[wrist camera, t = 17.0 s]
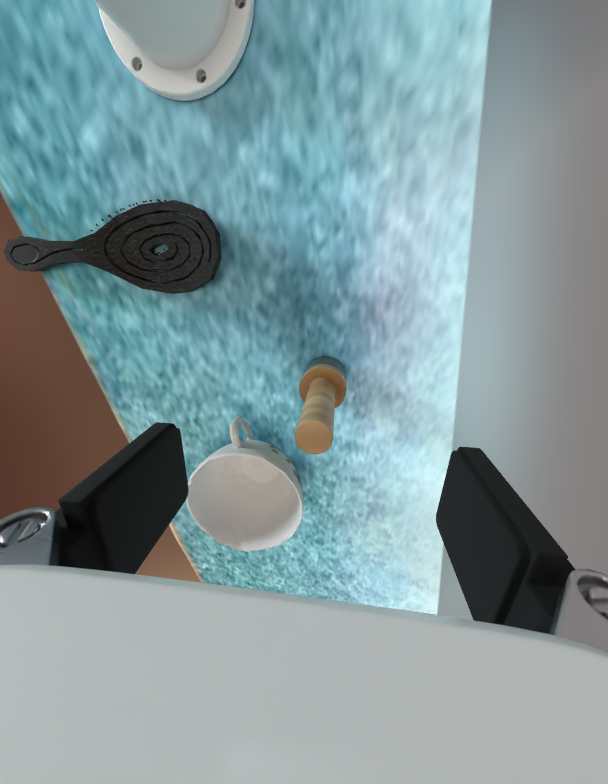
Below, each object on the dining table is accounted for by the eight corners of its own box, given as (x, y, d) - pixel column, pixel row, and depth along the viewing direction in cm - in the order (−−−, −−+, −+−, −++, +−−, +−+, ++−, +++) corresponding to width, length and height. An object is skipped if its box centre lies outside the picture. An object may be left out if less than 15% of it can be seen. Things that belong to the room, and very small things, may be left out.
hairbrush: (-34, 207, 29) (206, 187, 24) (8, 215, 32) (225, 198, 28) (-1, 297, 31) (219, 293, 27) (34, 295, 35) (234, 291, 31)
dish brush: (299, 362, 33) (270, 416, 20) (339, 351, 32) (336, 399, 19) (311, 400, 34) (292, 472, 21) (350, 389, 33) (355, 459, 20)
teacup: (314, 503, 39) (307, 555, 32) (225, 503, 41) (199, 551, 34) (303, 398, 34) (291, 430, 27) (202, 403, 36) (165, 434, 29)
